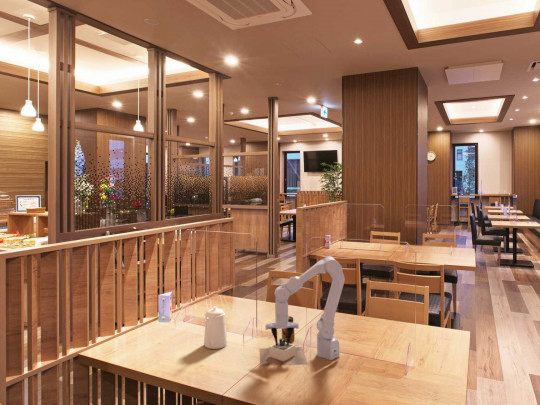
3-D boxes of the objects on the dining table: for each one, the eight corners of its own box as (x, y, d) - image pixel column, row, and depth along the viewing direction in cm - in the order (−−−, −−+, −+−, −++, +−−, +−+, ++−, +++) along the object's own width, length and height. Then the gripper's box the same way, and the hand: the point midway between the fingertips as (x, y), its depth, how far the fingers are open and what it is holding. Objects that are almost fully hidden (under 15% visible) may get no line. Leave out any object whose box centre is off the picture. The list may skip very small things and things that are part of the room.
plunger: (281, 350, 187) (281, 336, 186) (291, 354, 183) (291, 339, 182) (273, 354, 182) (272, 339, 182) (283, 358, 178) (282, 343, 178)
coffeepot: (194, 355, 186) (193, 314, 185) (213, 335, 211) (212, 299, 210) (217, 357, 184) (216, 315, 183) (233, 336, 208) (232, 300, 208)
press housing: (281, 350, 188) (281, 341, 188) (295, 355, 183) (295, 345, 183) (269, 356, 182) (269, 346, 182) (283, 361, 177) (283, 351, 177)
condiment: (283, 345, 196) (283, 320, 196) (278, 339, 204) (277, 315, 204) (298, 343, 198) (297, 319, 198) (292, 337, 207) (291, 313, 206)
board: (302, 348, 192) (302, 347, 192) (307, 365, 174) (307, 364, 174) (259, 350, 191) (259, 348, 191) (260, 367, 173) (260, 365, 173)
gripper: (265, 317, 177) (266, 348, 178) (299, 316, 178) (299, 347, 179) (265, 312, 184) (265, 342, 185) (297, 311, 185) (297, 341, 186)
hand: (282, 344), depth 182 cm, fingers open, 4 cm apart
